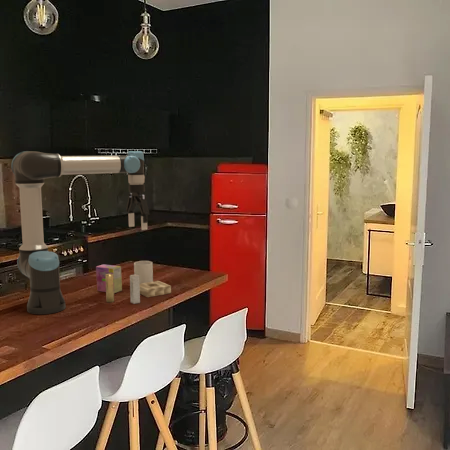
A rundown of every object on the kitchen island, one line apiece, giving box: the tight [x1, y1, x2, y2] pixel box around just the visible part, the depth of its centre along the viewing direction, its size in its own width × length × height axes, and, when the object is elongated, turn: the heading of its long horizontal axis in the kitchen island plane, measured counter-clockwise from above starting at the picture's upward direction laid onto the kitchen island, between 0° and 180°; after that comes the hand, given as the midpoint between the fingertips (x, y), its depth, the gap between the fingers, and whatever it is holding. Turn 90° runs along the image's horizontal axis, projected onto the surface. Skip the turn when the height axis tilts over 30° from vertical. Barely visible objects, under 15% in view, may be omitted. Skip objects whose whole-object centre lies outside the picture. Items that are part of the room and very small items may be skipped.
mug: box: [133, 260, 154, 284], centre depth 260 cm, size 12×9×11 cm
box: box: [95, 264, 123, 294], centre depth 248 cm, size 10×6×12 cm, turn 62°
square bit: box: [129, 273, 141, 305], centre depth 228 cm, size 3×3×12 cm
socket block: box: [140, 280, 172, 298], centre depth 245 cm, size 12×12×4 cm
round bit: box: [105, 274, 115, 303], centre depth 230 cm, size 3×3×12 cm
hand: (137, 228), depth 255 cm, fingers open, 13 cm apart
